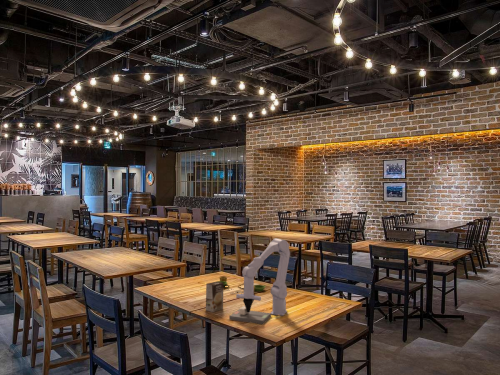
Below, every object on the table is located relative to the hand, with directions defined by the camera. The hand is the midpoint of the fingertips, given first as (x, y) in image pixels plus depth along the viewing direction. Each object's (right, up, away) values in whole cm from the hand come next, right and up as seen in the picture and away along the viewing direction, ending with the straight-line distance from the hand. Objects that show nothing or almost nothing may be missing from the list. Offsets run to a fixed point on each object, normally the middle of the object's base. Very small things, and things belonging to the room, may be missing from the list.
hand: (248, 311), depth 223 cm
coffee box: (-21, -4, +15) cm, 26 cm away
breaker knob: (-3, -1, +1) cm, 3 cm away
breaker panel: (+1, -3, 0) cm, 4 cm away
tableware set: (-9, -5, +68) cm, 69 cm away
